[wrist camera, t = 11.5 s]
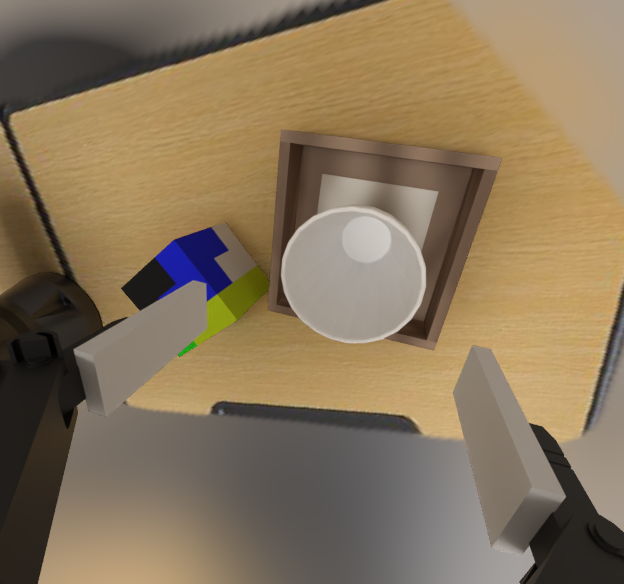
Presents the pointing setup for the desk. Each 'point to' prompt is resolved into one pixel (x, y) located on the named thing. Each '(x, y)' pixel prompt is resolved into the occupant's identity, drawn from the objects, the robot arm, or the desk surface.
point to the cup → (353, 274)
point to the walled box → (386, 208)
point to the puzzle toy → (203, 277)
